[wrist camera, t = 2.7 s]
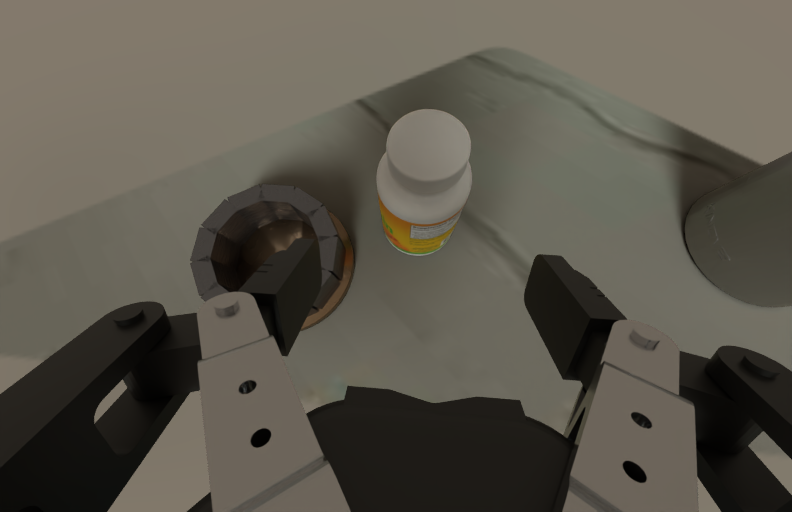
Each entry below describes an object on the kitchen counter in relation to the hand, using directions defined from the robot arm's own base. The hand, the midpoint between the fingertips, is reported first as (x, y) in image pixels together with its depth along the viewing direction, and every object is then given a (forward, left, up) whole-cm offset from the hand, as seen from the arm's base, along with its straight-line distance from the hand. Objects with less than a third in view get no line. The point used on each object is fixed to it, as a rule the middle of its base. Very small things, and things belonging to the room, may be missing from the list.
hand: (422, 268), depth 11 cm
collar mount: (+9, -2, -11) cm, 14 cm away
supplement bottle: (0, -6, -11) cm, 12 cm away
